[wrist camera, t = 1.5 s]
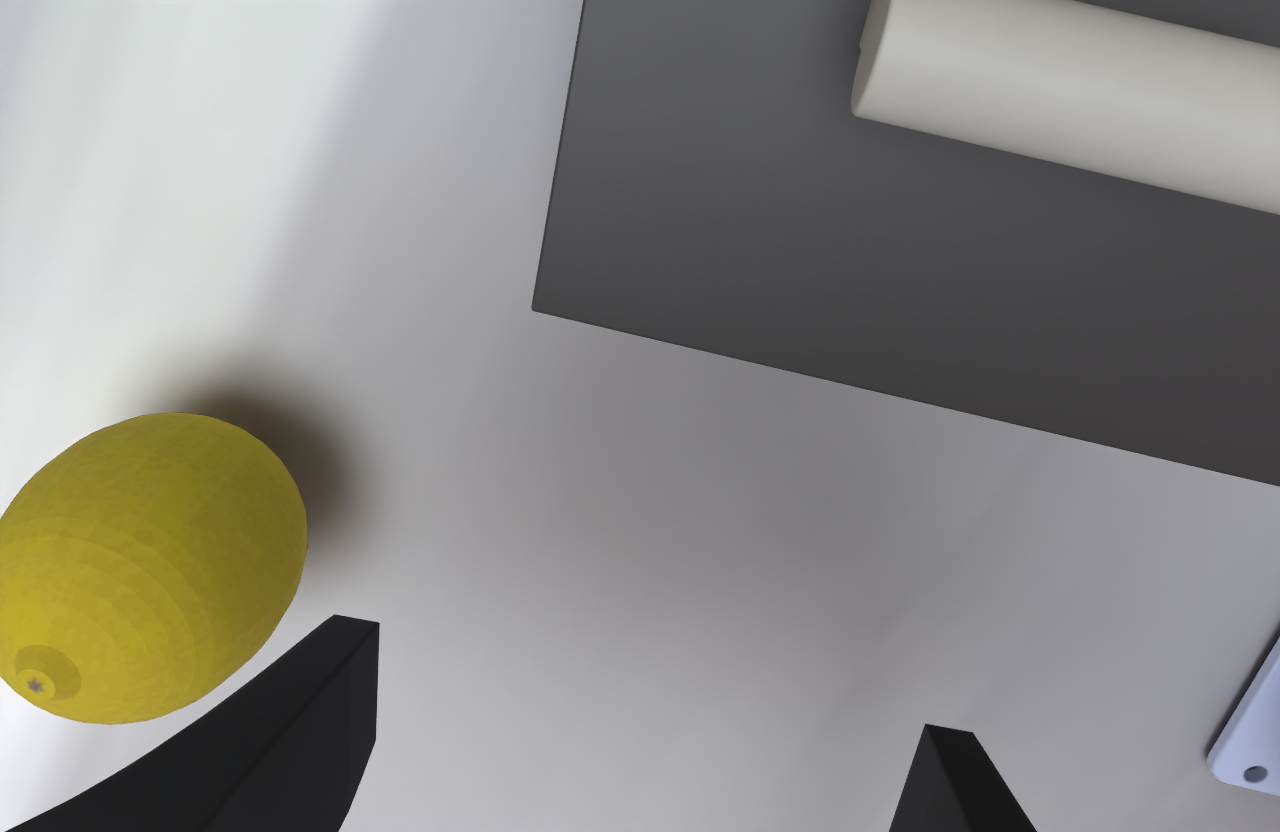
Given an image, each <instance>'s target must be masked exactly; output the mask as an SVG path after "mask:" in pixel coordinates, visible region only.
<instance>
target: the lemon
mask: <svg viewBox="0 0 1280 832" xmlns="http://www.w3.org/2000/svg"><path fill="white" fill-rule="evenodd" d="M307 548H308V532H307V519H306V511H305V507H304V504H303V501H302V498H301V495H300V493H299V490H298V487H297V484H296V482H295V481H294V479H293V478H292V476H291V475H290V473H289V471H288V470H287V468H286V467H285V465H284V464H283V462H282V461H281V460H280V459H279V458H278V456H277V455H276V454H275V453H274V452H273V451H272V450H271V449H270V448H269V447H268V446H267V445H266V444H265V443H263V442H262V441H260V440H259V439H257V438H256V437H254V436H253V435H251V434H250V433H248V432H247V431H245V430H244V429H242V428H239V427H237V426H234V425H232V424H229V423H227V422H225V421H222V420H220V419H217V418H213V417H208V416H202V415H196V414H191V413H182V412H178V413H163V414H150V415H142V416H139V417H135V418H132V419H129V420H126V421H123V422H120V423H117V424H114V425H111V426H108V427H105V428H103V429H101V430H98V431H96V432H94V433H91V434H90V435H88V436H86V437H84V438H82V439H81V440H79V441H78V442H76V443H75V444H73V445H72V446H70V447H69V448H68V449H66V450H65V451H64V452H62V453H61V454H60V455H58V456H57V457H56V458H54V459H53V460H52V461H50V462H49V463H48V464H46V465H45V466H44V467H43V468H42V469H40V470H39V471H38V472H37V473H36V474H35V475H34V476H33V477H32V478H31V479H30V480H29V481H28V482H27V483H26V484H25V485H24V486H23V488H22V489H21V490H20V491H19V493H18V494H17V495H16V497H15V498H14V499H13V501H12V502H11V504H10V505H9V507H8V508H7V510H6V511H5V513H4V514H3V516H2V517H1V519H0V677H1V678H2V679H3V680H4V681H5V682H6V683H7V684H8V685H9V686H10V687H11V688H12V689H13V690H14V691H15V692H16V693H18V694H19V695H21V696H22V697H23V698H25V699H26V700H28V701H29V702H31V703H32V704H33V705H35V706H37V707H39V708H41V709H43V710H46V711H48V712H50V713H52V714H54V715H57V716H60V717H64V718H67V719H71V720H74V721H79V722H85V723H95V724H106V725H114V724H126V723H134V722H141V721H147V720H151V719H154V718H158V717H161V716H164V715H166V714H169V713H171V712H173V711H176V710H178V709H181V708H183V707H185V706H187V705H189V704H191V703H193V702H195V701H197V700H199V699H200V698H202V697H203V696H205V695H206V694H208V693H210V692H211V691H212V690H213V689H215V688H216V687H217V686H219V685H220V684H221V683H222V682H224V681H225V680H226V679H227V678H228V677H230V676H231V675H232V674H233V673H235V672H236V671H237V670H238V669H239V668H241V667H242V666H243V665H244V664H245V663H246V662H247V661H248V660H250V659H251V658H252V657H253V656H254V655H255V654H256V653H257V652H258V651H259V650H260V648H261V647H262V646H263V645H264V644H265V642H266V641H267V640H268V639H269V637H270V636H271V634H272V633H273V631H274V630H275V628H276V627H277V625H278V623H279V622H280V620H281V618H282V617H283V615H284V614H285V612H286V610H287V609H288V607H289V605H290V604H291V602H292V600H293V598H294V596H295V593H296V591H297V588H298V585H299V583H300V579H301V575H302V570H303V566H304V561H305V557H306V552H307Z"/></svg>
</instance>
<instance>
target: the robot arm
mask: <svg viewBox="0 0 1280 832" xmlns="http://www.w3.org/2000/svg"><path fill="white" fill-rule="evenodd" d="M379 624H380V623H378V622H373V621H367V620H362V619H357V618H351V617H346V616H340V615H333V616H332V617H330V618H329V619H327V620H326V621H324V622H323V623H322V624H321V625H319V626H318V627H317V628H316V629H314V630H313V631H312V632H311V633H309V634H308V635H307V636H306V637H304V638H303V639H302V640H301V641H300V642H298V643H297V644H296V645H295V646H293V647H292V648H291V649H290V650H288V651H287V652H286V653H285V654H283V655H282V656H281V657H280V658H278V659H277V660H276V661H275V662H273V663H272V664H271V665H270V666H268V667H267V668H266V669H265V670H263V671H262V672H261V673H259V674H258V675H257V676H256V677H254V678H253V679H252V680H250V681H249V682H248V683H246V684H245V685H244V686H242V687H241V688H240V689H238V690H237V691H236V692H234V693H233V694H232V695H230V696H229V697H228V698H226V699H225V700H224V701H222V702H221V703H220V704H218V705H217V706H216V707H214V708H213V709H212V710H210V711H209V712H208V713H206V714H205V715H203V716H202V717H200V718H199V719H198V720H196V721H195V722H193V723H192V724H190V725H189V726H187V727H186V728H184V729H183V730H181V731H180V732H178V733H177V734H176V735H174V736H173V737H171V738H170V739H168V740H167V741H165V742H164V743H162V744H161V745H159V746H158V747H156V748H155V749H153V750H152V751H150V752H149V753H147V754H146V755H144V756H143V757H141V758H139V759H138V760H136V761H135V762H133V763H131V764H130V765H128V766H127V767H125V768H123V769H122V770H120V771H118V772H117V773H115V774H113V775H112V776H110V777H109V778H107V779H105V780H103V781H102V782H100V783H98V784H96V785H95V786H93V787H91V788H89V789H88V790H86V791H84V792H82V793H81V794H79V795H77V796H75V797H73V798H72V799H70V800H68V801H66V802H64V803H62V804H60V805H58V806H56V807H54V808H52V809H50V810H48V811H46V812H44V813H42V814H40V815H38V816H36V817H34V818H32V819H30V820H28V821H26V822H24V823H22V824H20V825H18V826H16V827H14V828H12V829H10V830H8V831H5V832H338V831H339V829H340V827H341V825H342V823H343V821H344V819H345V817H346V816H347V814H348V812H349V809H350V807H351V804H352V802H353V799H354V797H355V794H356V791H357V789H358V786H359V784H360V781H361V779H362V776H363V773H364V771H365V768H366V765H367V763H368V760H369V757H370V754H371V752H372V749H373V746H374V744H375V741H376V718H377V686H378V655H379ZM1207 763H1208V767H1209V769H1210V771H1211V773H1212V775H1213V776H1214V777H1215V778H1216V779H1217V780H1218V781H1221V782H1223V783H1226V784H1230V785H1234V786H1239V787H1243V788H1247V789H1251V790H1255V791H1260V792H1264V793H1268V794H1272V795H1276V796H1280V637H1279V639H1278V640H1277V642H1276V644H1275V645H1274V647H1273V649H1272V650H1271V652H1270V654H1269V655H1268V657H1267V659H1266V660H1265V662H1264V664H1263V665H1262V667H1261V668H1260V670H1259V672H1258V673H1257V675H1256V677H1255V678H1254V680H1253V682H1252V683H1251V685H1250V687H1249V688H1248V690H1247V692H1246V693H1245V695H1244V697H1243V698H1242V700H1241V702H1240V703H1239V705H1238V706H1237V708H1236V710H1235V711H1234V713H1233V715H1232V716H1231V718H1230V720H1229V721H1228V723H1227V725H1226V726H1225V728H1224V730H1223V731H1222V733H1221V735H1220V736H1219V738H1218V739H1217V741H1216V743H1215V744H1214V746H1213V748H1212V749H1211V751H1210V753H1209V755H1208V758H1207ZM1253 766H1258V767H1257V768H1256V769H1253V770H1250V771H1247V769H1248V768H1250V767H1253ZM889 832H1037V831H1036V829H1035V828H1034V826H1033V825H1032V823H1031V822H1030V820H1029V819H1028V817H1027V816H1026V814H1025V813H1024V811H1023V810H1022V808H1021V806H1020V805H1019V803H1018V802H1017V800H1016V799H1015V797H1014V796H1013V794H1012V793H1011V791H1010V789H1009V788H1008V786H1007V785H1006V783H1005V782H1004V780H1003V778H1002V777H1001V775H1000V774H999V772H998V771H997V769H996V767H995V766H994V764H993V763H992V761H991V760H990V758H989V756H988V755H987V753H986V752H985V750H984V749H983V747H982V746H981V744H980V743H979V741H978V740H977V738H976V737H975V735H974V734H973V732H967V731H962V730H957V729H951V728H946V727H940V726H935V725H930V724H925V726H924V729H923V732H922V735H921V738H920V741H919V744H918V747H917V750H916V753H915V756H914V759H913V762H912V765H911V768H910V771H909V774H908V776H907V779H906V782H905V785H904V788H903V791H902V794H901V797H900V800H899V803H898V806H897V809H896V812H895V815H894V818H893V821H892V824H891V827H890V830H889Z"/></svg>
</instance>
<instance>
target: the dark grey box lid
mask: <svg viewBox="0 0 1280 832" xmlns="http://www.w3.org/2000/svg"><path fill="white" fill-rule="evenodd" d="M531 308H532V310H533V311H536V312H540V313H544V314H549V315H553V316H557V317H561V318H566V319H570V320H574V321H578V322H583V323H587V324H591V325H595V326H600V327H604V328H608V329H612V330H617V331H621V332H625V333H629V334H634V335H638V336H642V337H646V338H651V339H655V340H659V341H663V342H668V343H672V344H676V345H680V346H685V347H689V348H693V349H697V350H702V351H706V352H710V353H714V354H719V355H723V356H727V357H731V358H736V359H740V360H744V361H748V362H753V363H757V364H761V365H765V366H770V367H774V368H778V369H782V370H787V371H791V372H795V373H799V374H804V375H808V376H812V377H816V378H821V379H825V380H829V381H833V382H838V383H842V384H846V385H850V386H855V387H859V388H863V389H867V390H872V391H876V392H880V393H884V394H889V395H893V396H897V397H901V398H906V399H910V400H914V401H918V402H923V403H927V404H931V405H935V406H940V407H944V408H948V409H952V410H957V411H961V412H965V413H969V414H974V415H978V416H982V417H986V418H991V419H995V420H999V421H1003V422H1008V423H1012V424H1016V425H1020V426H1025V427H1029V428H1033V429H1037V430H1042V431H1046V432H1050V433H1054V434H1059V435H1063V436H1067V437H1071V438H1076V439H1080V440H1084V441H1088V442H1093V443H1097V444H1101V445H1105V446H1110V447H1114V448H1118V449H1122V450H1127V451H1131V452H1135V453H1139V454H1144V455H1148V456H1152V457H1156V458H1161V459H1165V460H1169V461H1173V462H1178V463H1182V464H1186V465H1190V466H1195V467H1199V468H1203V469H1207V470H1212V471H1216V472H1220V473H1224V474H1229V475H1233V476H1237V477H1241V478H1246V479H1250V480H1254V481H1258V482H1263V483H1267V484H1271V485H1275V486H1280V0H583V5H582V11H581V17H580V23H579V29H578V35H577V41H576V47H575V53H574V59H573V65H572V71H571V76H570V82H569V88H568V94H567V100H566V106H565V112H564V118H563V124H562V130H561V136H560V141H559V147H558V153H557V159H556V165H555V171H554V177H553V183H552V189H551V195H550V201H549V206H548V212H547V218H546V224H545V230H544V236H543V242H542V248H541V254H540V260H539V266H538V271H537V277H536V283H535V289H534V295H533V301H532V307H531Z"/></svg>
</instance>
